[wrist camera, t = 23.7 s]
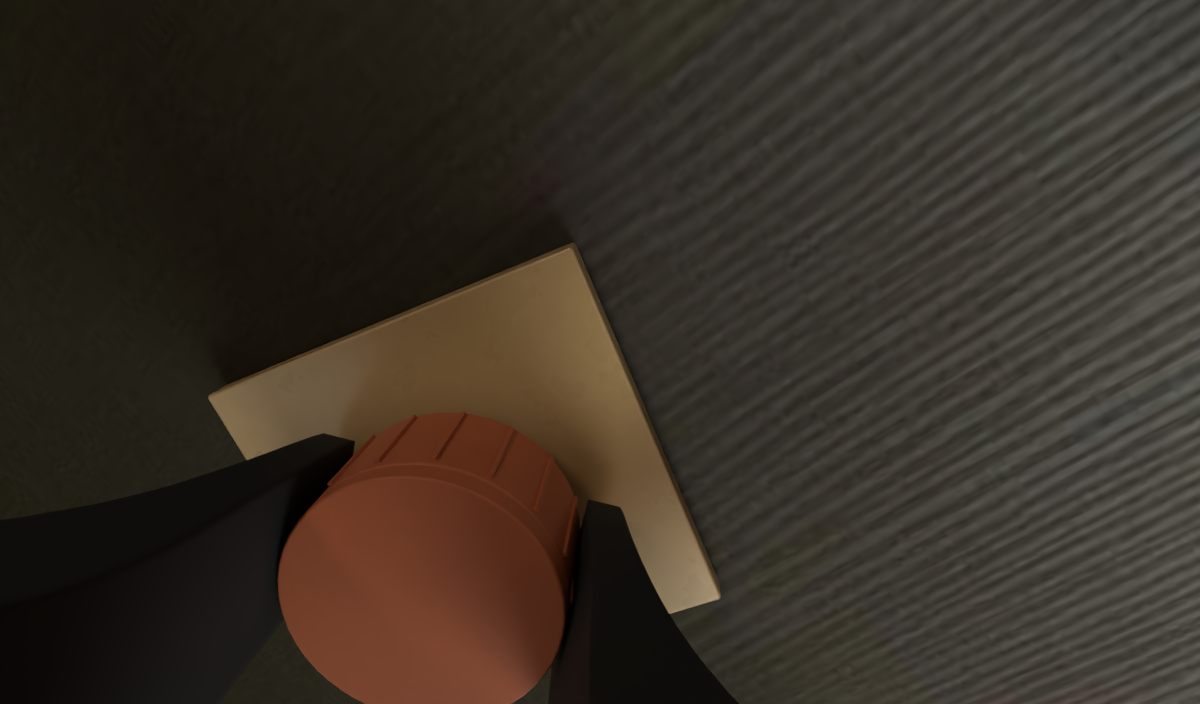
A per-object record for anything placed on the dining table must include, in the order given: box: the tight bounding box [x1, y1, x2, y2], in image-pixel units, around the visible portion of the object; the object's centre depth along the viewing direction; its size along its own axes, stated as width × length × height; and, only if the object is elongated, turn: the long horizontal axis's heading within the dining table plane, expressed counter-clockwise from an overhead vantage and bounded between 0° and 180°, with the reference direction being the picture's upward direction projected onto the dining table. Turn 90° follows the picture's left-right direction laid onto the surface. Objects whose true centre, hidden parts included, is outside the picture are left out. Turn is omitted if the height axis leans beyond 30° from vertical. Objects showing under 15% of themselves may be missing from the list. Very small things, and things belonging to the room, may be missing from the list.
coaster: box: [208, 243, 721, 614], centre depth 13 cm, size 8×8×1 cm
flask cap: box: [277, 412, 580, 704], centre depth 11 cm, size 4×4×2 cm
